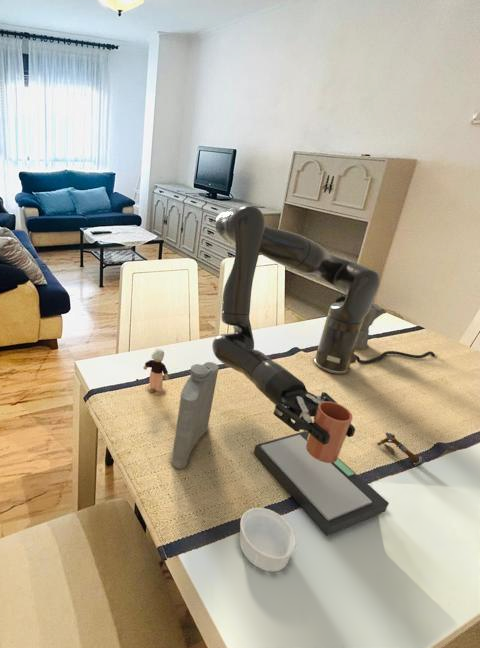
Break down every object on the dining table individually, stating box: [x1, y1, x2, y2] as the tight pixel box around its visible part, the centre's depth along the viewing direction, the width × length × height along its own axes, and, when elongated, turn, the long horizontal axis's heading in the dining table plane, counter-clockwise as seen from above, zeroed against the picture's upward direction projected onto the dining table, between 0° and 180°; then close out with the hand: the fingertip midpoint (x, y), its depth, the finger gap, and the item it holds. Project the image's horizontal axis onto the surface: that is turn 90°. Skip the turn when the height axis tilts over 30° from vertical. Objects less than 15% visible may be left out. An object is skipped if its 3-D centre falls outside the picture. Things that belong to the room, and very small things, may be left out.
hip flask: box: [170, 361, 220, 470], centre depth 83 cm, size 16×4×20 cm, turn 148°
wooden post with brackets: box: [376, 431, 423, 467], centre depth 87 cm, size 2×8×4 cm, turn 48°
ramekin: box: [239, 507, 297, 573], centre depth 65 cm, size 9×9×4 cm
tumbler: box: [306, 401, 353, 463], centre depth 74 cm, size 6×6×10 cm
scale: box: [253, 430, 390, 537], centre depth 79 cm, size 15×20×3 cm
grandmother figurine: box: [143, 348, 170, 396], centre depth 102 cm, size 8×4×13 cm, turn 65°
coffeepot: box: [334, 295, 387, 350], centre depth 133 cm, size 15×9×18 cm, turn 44°
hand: (340, 436), depth 72 cm, fingers closed on tumbler, 6 cm apart
